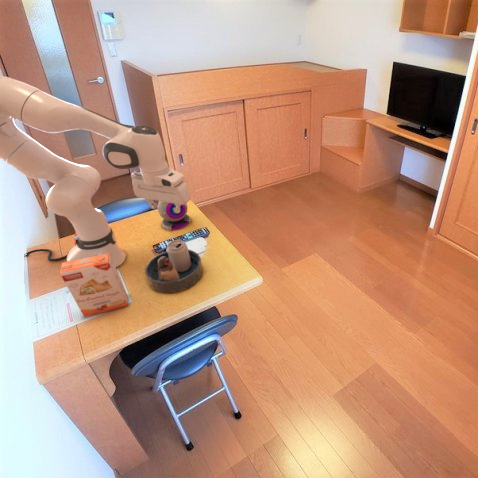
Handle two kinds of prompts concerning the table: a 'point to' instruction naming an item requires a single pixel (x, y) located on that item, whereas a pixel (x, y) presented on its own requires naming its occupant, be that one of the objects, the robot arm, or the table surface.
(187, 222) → the webcam
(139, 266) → the table surface
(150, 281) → the bowl
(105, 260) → the cracker box
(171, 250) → the can
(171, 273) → the figurine
